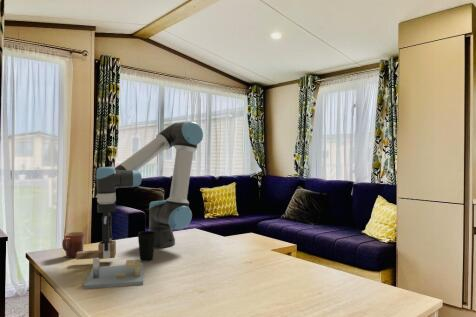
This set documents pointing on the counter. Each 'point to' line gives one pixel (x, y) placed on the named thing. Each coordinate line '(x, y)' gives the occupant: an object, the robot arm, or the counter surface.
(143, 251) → the cup
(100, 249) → the link
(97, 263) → the cylinder
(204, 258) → the counter surface
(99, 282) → the board
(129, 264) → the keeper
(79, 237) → the mug
